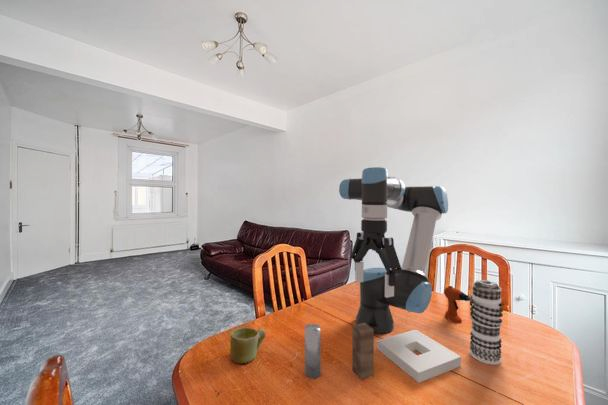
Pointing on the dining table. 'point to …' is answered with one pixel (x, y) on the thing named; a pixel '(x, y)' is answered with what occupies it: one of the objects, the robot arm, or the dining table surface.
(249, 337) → the mug
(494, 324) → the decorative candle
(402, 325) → the dining table surface
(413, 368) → the socket plate
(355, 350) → the square peg
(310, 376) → the round peg
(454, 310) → the toy drill
